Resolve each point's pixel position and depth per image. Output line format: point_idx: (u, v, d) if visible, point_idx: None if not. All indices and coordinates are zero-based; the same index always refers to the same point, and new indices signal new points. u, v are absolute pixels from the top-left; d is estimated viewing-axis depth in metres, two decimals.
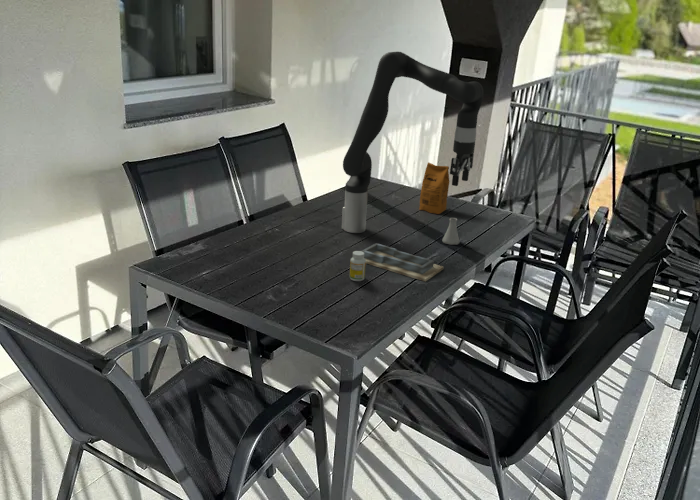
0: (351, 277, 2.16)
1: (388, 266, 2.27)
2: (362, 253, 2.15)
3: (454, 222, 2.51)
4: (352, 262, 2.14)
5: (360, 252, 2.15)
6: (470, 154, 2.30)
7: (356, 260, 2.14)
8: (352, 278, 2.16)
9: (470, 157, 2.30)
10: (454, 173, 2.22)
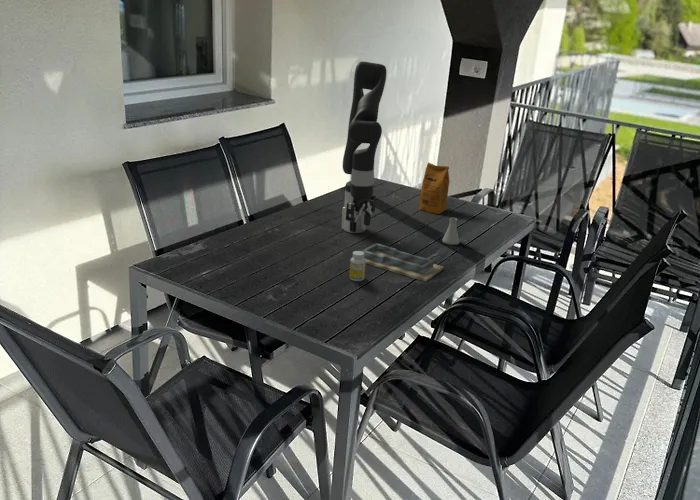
0: (351, 277, 2.16)
1: (388, 266, 2.27)
2: (362, 253, 2.15)
3: (454, 222, 2.51)
4: (352, 262, 2.14)
5: (360, 252, 2.15)
6: (371, 197, 2.12)
7: (356, 260, 2.14)
8: (352, 278, 2.16)
9: (371, 200, 2.12)
10: (350, 219, 2.04)
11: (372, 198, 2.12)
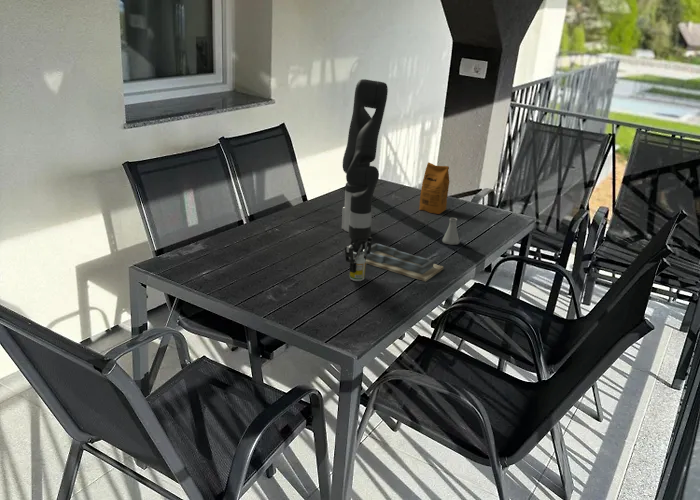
0: (351, 277, 2.16)
1: (388, 266, 2.27)
2: (362, 253, 2.15)
3: (454, 222, 2.51)
4: None
5: (360, 252, 2.15)
6: None
7: None
8: (352, 278, 2.16)
9: (368, 241, 2.17)
10: (350, 261, 2.10)
11: (369, 240, 2.17)
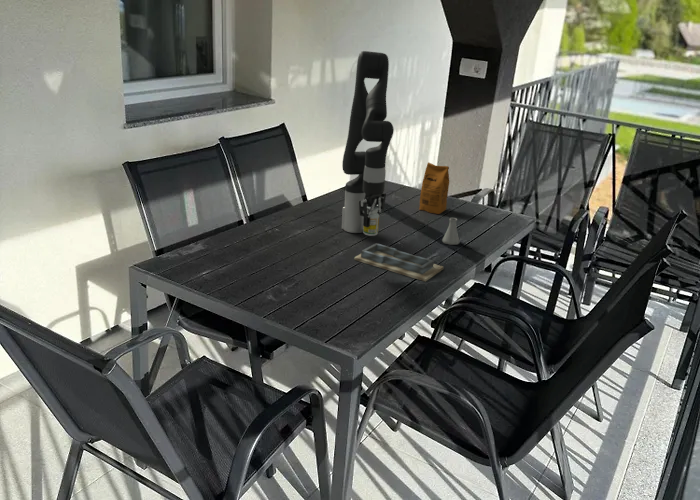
0: (365, 232, 2.22)
1: (388, 266, 2.27)
2: (376, 208, 2.20)
3: (454, 222, 2.51)
4: None
5: (374, 207, 2.20)
6: (382, 194, 2.22)
7: None
8: (366, 233, 2.21)
9: (382, 197, 2.22)
10: (364, 215, 2.16)
11: (383, 195, 2.22)
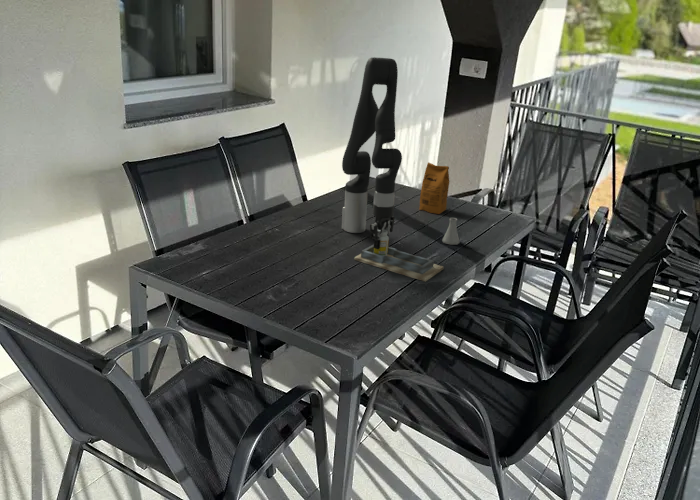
0: (375, 253, 2.33)
1: (388, 266, 2.27)
2: (385, 231, 2.31)
3: (454, 222, 2.51)
4: None
5: None
6: (391, 217, 2.34)
7: None
8: None
9: (391, 220, 2.34)
10: (374, 237, 2.27)
11: (392, 218, 2.34)
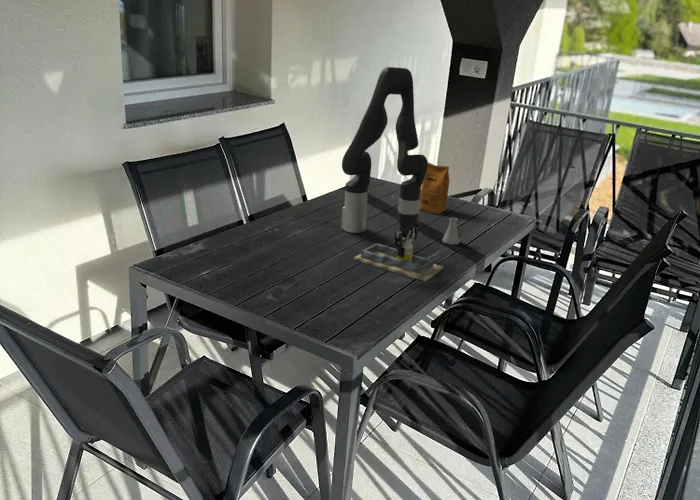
0: None
1: (388, 266, 2.27)
2: (410, 239, 2.26)
3: (454, 222, 2.51)
4: None
5: (408, 238, 2.26)
6: (415, 225, 2.29)
7: None
8: None
9: (415, 228, 2.28)
10: (399, 246, 2.22)
11: (416, 226, 2.28)
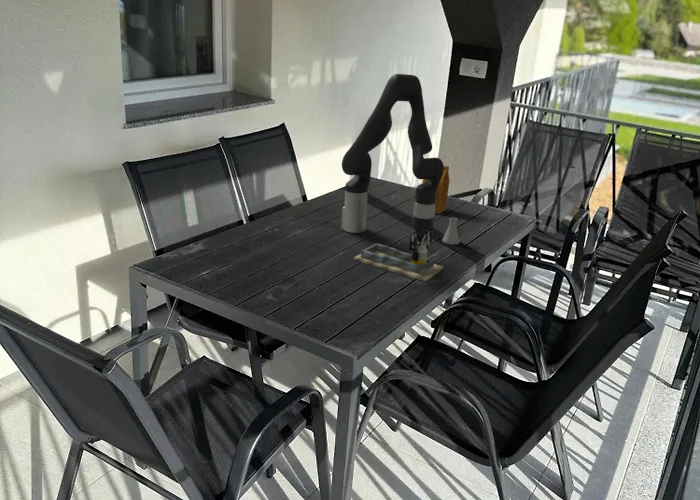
0: None
1: (388, 266, 2.27)
2: (424, 243, 2.23)
3: (454, 222, 2.51)
4: None
5: None
6: (430, 228, 2.26)
7: None
8: None
9: (430, 231, 2.25)
10: (413, 250, 2.18)
11: (431, 229, 2.26)
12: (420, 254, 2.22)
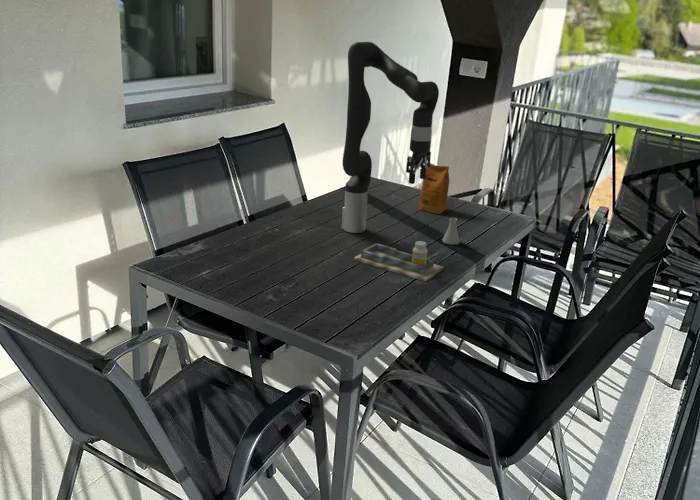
0: None
1: (388, 266, 2.27)
2: (424, 243, 2.23)
3: (454, 222, 2.51)
4: (415, 252, 2.23)
5: (422, 242, 2.24)
6: (427, 153, 2.35)
7: (418, 250, 2.22)
8: None
9: (427, 156, 2.34)
10: (410, 171, 2.26)
11: (428, 154, 2.34)
12: (420, 254, 2.22)
